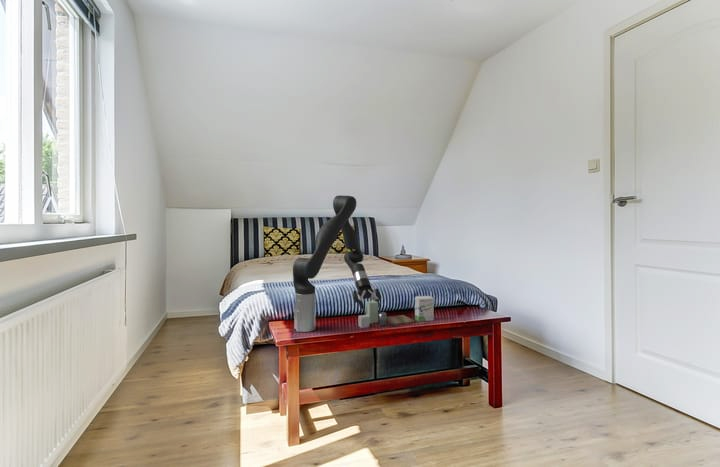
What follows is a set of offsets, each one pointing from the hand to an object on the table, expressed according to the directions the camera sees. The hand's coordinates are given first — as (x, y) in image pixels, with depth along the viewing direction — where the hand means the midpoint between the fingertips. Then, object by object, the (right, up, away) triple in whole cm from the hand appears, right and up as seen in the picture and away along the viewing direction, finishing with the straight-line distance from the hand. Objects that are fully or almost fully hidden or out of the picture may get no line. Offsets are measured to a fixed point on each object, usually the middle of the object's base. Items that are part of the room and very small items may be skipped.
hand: (370, 307), depth 197 cm
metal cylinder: (+5, -7, -8) cm, 12 cm away
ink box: (+27, -7, +3) cm, 28 cm away
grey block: (-4, -7, -9) cm, 12 cm away
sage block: (0, -7, -1) cm, 7 cm away
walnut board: (+14, -7, 0) cm, 16 cm away
